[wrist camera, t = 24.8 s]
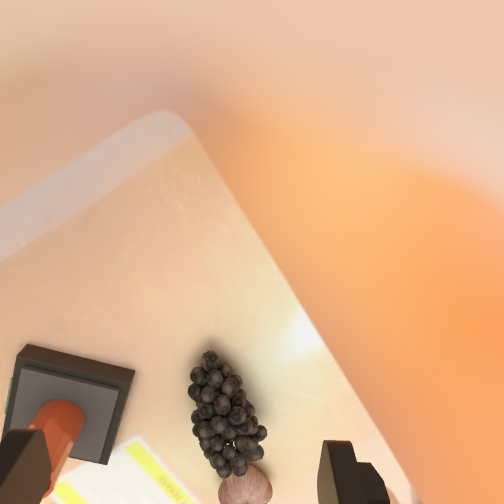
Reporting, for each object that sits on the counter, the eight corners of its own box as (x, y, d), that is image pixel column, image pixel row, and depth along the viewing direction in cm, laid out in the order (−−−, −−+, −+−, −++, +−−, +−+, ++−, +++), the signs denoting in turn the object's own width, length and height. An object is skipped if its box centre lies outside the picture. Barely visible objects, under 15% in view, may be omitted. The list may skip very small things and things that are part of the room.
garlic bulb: (221, 453, 53) (220, 508, 46) (274, 456, 54) (282, 511, 46) (216, 495, 56) (214, 554, 48) (267, 497, 56) (273, 556, 49)
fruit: (183, 391, 39) (215, 504, 44) (258, 361, 42) (282, 471, 46) (168, 352, 47) (197, 451, 51) (233, 328, 49) (255, 425, 54)
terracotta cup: (34, 430, 47) (-7, 495, 39) (42, 394, 45) (1, 453, 37) (80, 440, 48) (49, 505, 40) (89, 405, 46) (59, 465, 38)
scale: (7, 427, 50) (-7, 447, 47) (23, 342, 47) (9, 357, 44) (112, 450, 52) (105, 470, 49) (135, 370, 49) (129, 386, 46)
